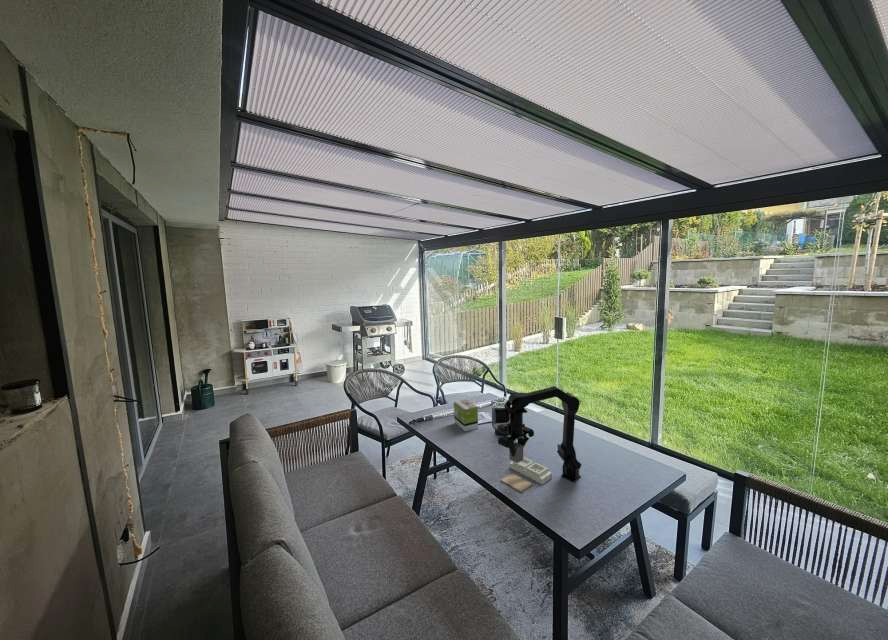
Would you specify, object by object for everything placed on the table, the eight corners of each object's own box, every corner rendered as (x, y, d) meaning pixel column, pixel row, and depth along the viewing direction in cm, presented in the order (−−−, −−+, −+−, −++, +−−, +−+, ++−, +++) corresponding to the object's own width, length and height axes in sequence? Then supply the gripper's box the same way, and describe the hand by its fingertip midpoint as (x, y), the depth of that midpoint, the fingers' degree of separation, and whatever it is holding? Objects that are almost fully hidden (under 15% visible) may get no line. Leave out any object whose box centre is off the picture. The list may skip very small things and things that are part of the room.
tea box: (453, 423, 224) (453, 401, 222) (467, 420, 228) (466, 398, 226) (464, 432, 210) (464, 409, 208) (478, 428, 214) (478, 406, 213)
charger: (523, 459, 156) (523, 445, 155) (517, 463, 153) (516, 448, 152) (515, 456, 159) (515, 441, 158) (509, 459, 156) (509, 444, 156)
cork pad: (532, 485, 154) (532, 484, 154) (521, 492, 149) (521, 491, 149) (511, 474, 163) (511, 473, 163) (500, 480, 158) (500, 479, 158)
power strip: (551, 477, 159) (551, 469, 159) (542, 484, 154) (542, 476, 154) (519, 462, 174) (519, 454, 173) (509, 467, 169) (509, 459, 168)
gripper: (515, 411, 166) (515, 441, 168) (488, 421, 154) (489, 454, 156) (534, 418, 157) (534, 450, 159) (507, 429, 146) (507, 464, 147)
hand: (516, 454), depth 156 cm, fingers closed on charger, 4 cm apart
